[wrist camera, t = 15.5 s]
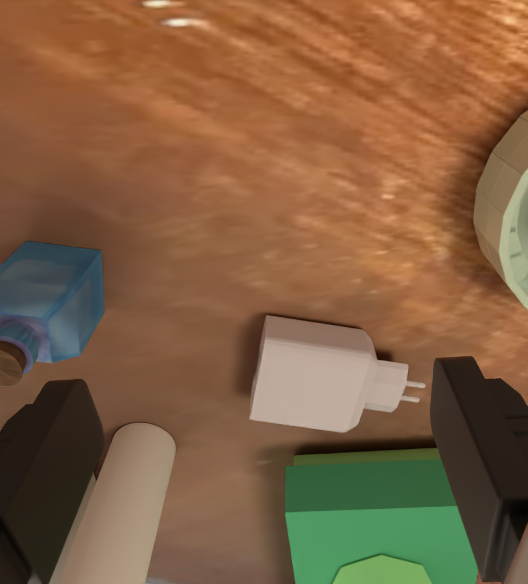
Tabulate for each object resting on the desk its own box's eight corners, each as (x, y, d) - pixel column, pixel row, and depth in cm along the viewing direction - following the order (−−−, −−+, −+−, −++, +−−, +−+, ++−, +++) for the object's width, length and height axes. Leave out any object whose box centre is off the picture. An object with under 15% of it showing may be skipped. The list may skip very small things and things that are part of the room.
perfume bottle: (101, 250, 41) (40, 335, 31) (104, 312, 44) (50, 408, 34) (26, 241, 41) (-61, 323, 31) (34, 303, 44) (-42, 397, 34)
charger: (401, 410, 49) (250, 388, 48) (431, 335, 45) (266, 310, 44) (411, 448, 45) (247, 424, 44) (446, 370, 40) (264, 342, 40)
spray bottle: (127, 469, 55) (27, 772, 34) (103, 427, 52) (-24, 732, 30) (184, 461, 54) (119, 768, 33) (163, 417, 51) (76, 725, 29)
